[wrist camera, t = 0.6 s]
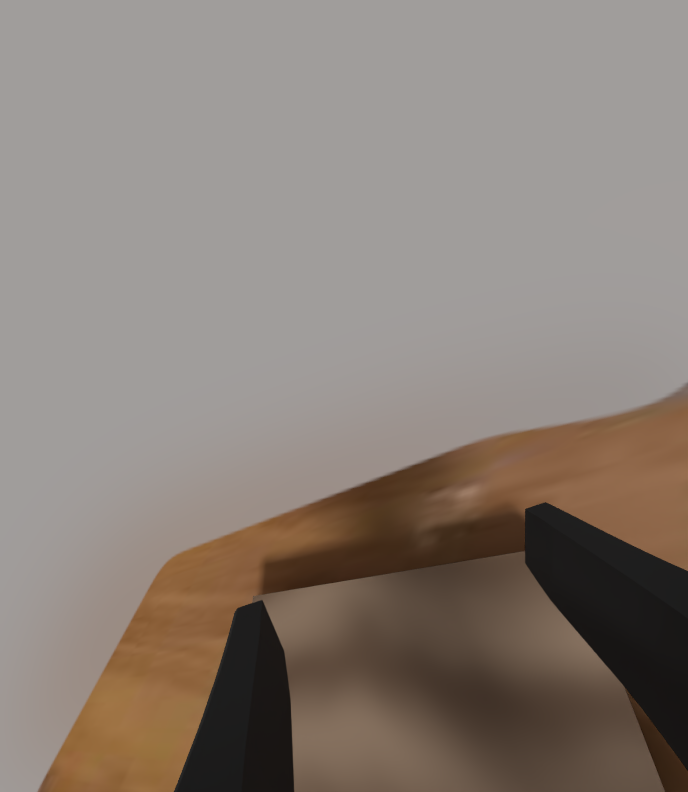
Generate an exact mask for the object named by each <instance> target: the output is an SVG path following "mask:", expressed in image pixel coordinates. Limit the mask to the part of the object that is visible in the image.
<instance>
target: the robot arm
mask: <svg viewBox="0 0 688 792" xmlns="http://www.w3.org/2000/svg"><path fill="white" fill-rule="evenodd" d="M525 564H526V565H527V567H528V568H529V570H530V571H531V573H532V574H533V576H534V577H535V579H536V580H537V582H538V583H539V585H540V586H541V588H542V589H543V590H544V592H545V593H546V595H547V596H548V597H549V599H550V600H551V601H552V603H553V604H554V605H555V606H556V607H557V609H558V610H559V611H560V612H561V613H562V615H563V616H564V617H565V618H566V619H567V620H568V622H569V623H570V624H571V625H572V626H573V627H574V629H575V630H576V631H577V632H578V633H579V634H580V636H581V637H582V638H583V639H584V640H585V641H586V643H587V644H588V645H589V646H590V647H591V648H592V650H593V651H594V652H595V653H596V654H597V655H598V657H599V658H600V659H601V660H602V661H603V662H604V664H605V665H606V666H607V667H608V668H609V669H610V670H611V672H612V673H613V674H614V675H615V676H616V677H617V679H618V680H619V681H620V682H621V683H622V684H623V686H624V687H625V688H626V689H627V690H628V692H629V693H630V694H631V695H632V697H633V698H634V699H635V700H636V702H637V703H638V704H639V705H640V707H641V708H642V709H643V710H644V712H645V713H646V714H647V716H648V717H649V718H650V720H651V721H652V723H653V724H654V725H655V727H656V728H657V729H658V731H659V732H660V733H661V735H662V736H663V737H664V739H665V740H666V741H667V743H668V744H669V745H670V747H671V748H672V750H673V751H674V752H675V754H676V755H677V756H678V758H679V759H680V760H681V762H682V763H683V765H684V766H685V767H686V769H687V770H688V571H686V570H684V569H682V568H680V567H677V566H675V565H673V564H670V563H668V562H666V561H664V560H662V559H660V558H657V557H655V556H653V555H651V554H649V553H647V552H645V551H643V550H641V549H638V548H636V547H634V546H632V545H630V544H628V543H626V542H624V541H622V540H620V539H618V538H616V537H614V536H612V535H610V534H608V533H606V532H604V531H602V530H600V529H598V528H596V527H594V526H592V525H590V524H588V523H586V522H584V521H582V520H580V519H578V518H576V517H574V516H572V515H570V514H568V513H566V512H564V511H562V510H560V509H558V508H556V507H554V506H552V505H550V504H548V503H546V502H545V503H542V504H539V505H536V506H533V507H530V508H527V509H525ZM174 792H294V769H293V743H292V719H291V698H290V690H289V682H288V675H287V667H286V660H285V653H284V649H283V647H282V645H281V642H280V640H279V638H278V635H277V633H276V631H275V628H274V626H273V623H272V621H271V619H270V616H269V614H268V612H267V609H266V607H265V605H264V602H263V600H260V601H257V602H254V603H251V604H248V605H245V606H242V607H240V608H238V609H237V610H236V611H235V613H234V617H233V621H232V625H231V628H230V632H229V636H228V639H227V643H226V646H225V650H224V653H223V656H222V660H221V663H220V666H219V669H218V672H217V676H216V679H215V682H214V685H213V687H212V690H211V693H210V696H209V699H208V702H207V705H206V708H205V711H204V714H203V717H202V720H201V723H200V725H199V728H198V731H197V733H196V736H195V739H194V741H193V744H192V747H191V749H190V752H189V754H188V757H187V760H186V762H185V765H184V767H183V770H182V773H181V775H180V778H179V780H178V783H177V785H176V788H175V790H174Z"/></svg>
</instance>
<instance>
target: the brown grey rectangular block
mask: <svg viewBox="0 0 688 792" xmlns="http://www.w3.org/2000/svg"><path fill="white" fill-rule="evenodd" d="M260 600H263V602H264V605H265V607H266V609H267V612H268V614H269V616H270V619H271V621H272V623H273V626H274V628H275V631H276V633H277V635H278V638H279V640H280V642H281V645H282V647H283V649H284V653H285V660H286V667H287V675H288V682H289V690H290V698H291V719H292V743H293V769H294V792H665V790H664V788H663V785H662V783H661V780H660V777H659V775H658V772H657V770H656V767H655V765H654V762H653V759H652V757H651V754H650V752H649V749H648V747H647V744H646V741H645V739H644V736H643V734H642V731H641V728H640V726H639V723H638V721H637V718H636V716H635V713H634V710H633V708H632V705H631V703H630V700H629V698H628V695H627V692H626V690H625V687H624V686H623V684H622V683H621V682H620V681H619V680H618V679H617V677H616V676H615V675H614V674H613V673H612V672H611V670H610V669H609V668H608V667H607V666H606V665H605V664H604V662H603V661H602V660H601V659H600V658H599V657H598V655H597V654H596V653H595V652H594V651H593V650H592V648H591V647H590V646H589V645H588V644H587V643H586V641H585V640H584V639H583V638H582V637H581V636H580V634H579V633H578V632H577V631H576V630H575V629H574V627H573V626H572V625H571V624H570V623H569V622H568V620H567V619H566V618H565V617H564V616H563V615H562V613H561V612H560V611H559V610H558V609H557V607H556V606H555V605H554V604H553V603H552V601H551V600H550V599H549V597H548V596H547V595H546V593H545V592H544V590H543V589H542V588H541V586H540V585H539V583H538V582H537V580H536V579H535V577H534V576H533V574H532V573H531V571H530V570H529V568H528V567H527V565H526V564H525V551H522V552H516V553H510V554H504V555H498V556H492V557H486V558H480V559H474V560H468V561H462V562H456V563H450V564H444V565H438V566H432V567H426V568H420V569H414V570H408V571H402V572H396V573H390V574H384V575H378V576H372V577H366V578H360V579H354V580H348V581H342V582H336V583H330V584H324V585H318V586H312V587H306V588H300V589H294V590H288V591H282V592H276V593H270V594H264V595H258V596H253V602H252V603H254V602H257V601H260Z"/></svg>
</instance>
